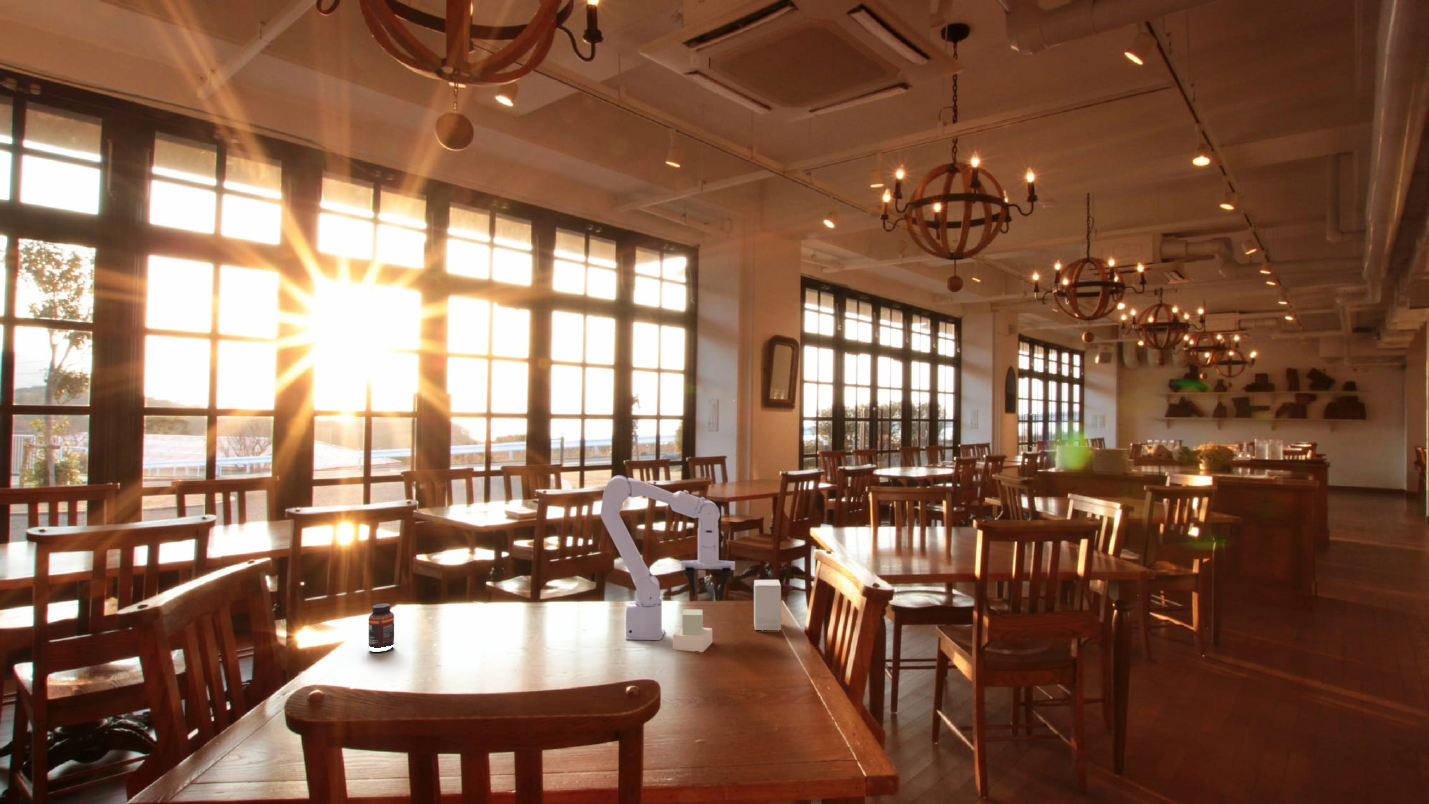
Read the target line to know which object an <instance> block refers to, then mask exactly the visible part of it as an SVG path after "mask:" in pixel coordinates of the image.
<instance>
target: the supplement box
mask: <svg viewBox="0 0 1429 804" xmlns="http://www.w3.org/2000/svg"><path fill="white" fill-rule="evenodd" d="M753 626H754V631H755V630H762V631H761V632H764V631H763V630H778V631H777V632H780V631H779V630H781V631H782V586H781V583H780V579H754V580H753Z"/></svg>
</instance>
